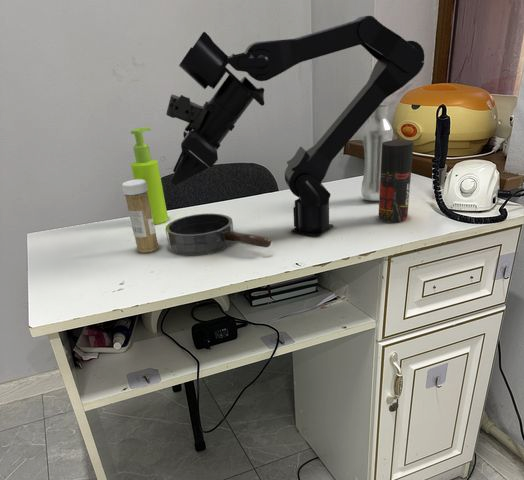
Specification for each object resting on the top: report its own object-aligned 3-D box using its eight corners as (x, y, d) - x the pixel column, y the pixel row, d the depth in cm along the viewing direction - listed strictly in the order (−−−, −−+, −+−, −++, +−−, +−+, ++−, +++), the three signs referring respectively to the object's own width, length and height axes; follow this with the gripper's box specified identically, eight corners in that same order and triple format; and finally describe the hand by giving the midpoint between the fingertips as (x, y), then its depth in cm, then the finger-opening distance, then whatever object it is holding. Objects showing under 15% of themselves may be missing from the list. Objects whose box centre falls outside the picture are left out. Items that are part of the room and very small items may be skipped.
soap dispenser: (174, 215, 117) (158, 125, 106) (160, 225, 112) (142, 131, 101) (153, 214, 119) (135, 126, 108) (138, 224, 114) (118, 131, 103)
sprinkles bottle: (163, 248, 99) (150, 180, 91) (144, 255, 96) (129, 185, 89) (151, 243, 102) (137, 177, 94) (132, 250, 99) (116, 182, 92)
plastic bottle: (392, 202, 112) (398, 106, 101) (363, 204, 112) (366, 109, 102) (386, 195, 118) (392, 103, 107) (358, 197, 118) (361, 105, 107)
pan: (232, 228, 106) (230, 210, 103) (236, 250, 94) (234, 230, 92) (170, 235, 105) (167, 217, 103) (167, 259, 94) (163, 239, 91)
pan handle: (274, 245, 90) (273, 236, 89) (267, 249, 89) (266, 240, 88) (226, 237, 96) (225, 228, 95) (219, 240, 95) (218, 232, 94)
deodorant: (379, 213, 106) (383, 140, 98) (407, 214, 105) (413, 139, 97) (377, 222, 101) (381, 146, 93) (406, 223, 100) (413, 145, 92)
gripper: (189, 72, 91) (142, 140, 97) (187, 78, 76) (131, 159, 81) (235, 114, 96) (188, 177, 102) (242, 128, 80) (185, 202, 86)
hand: (173, 178), depth 92 cm, fingers open, 9 cm apart
